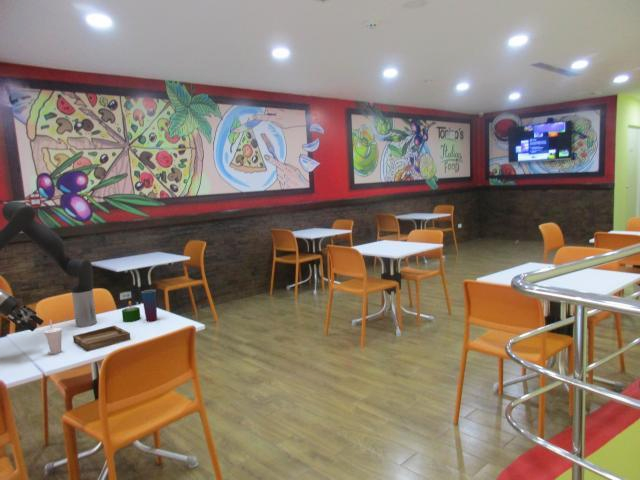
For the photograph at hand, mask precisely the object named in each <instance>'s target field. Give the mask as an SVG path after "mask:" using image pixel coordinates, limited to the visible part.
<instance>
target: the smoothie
mask: <svg viewBox="0 0 640 480" xmlns="http://www.w3.org/2000/svg"><path fill="white" fill-rule="evenodd" d="M49 324H50V328H49V329H46V330H45V331H44V335H45V337H46V340H47V344H48V348H49V350H50V351H49V352H50V354H51V355H56V354H60V353H62V332H63V328H62V327H53V323H52V319H49Z"/></svg>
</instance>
